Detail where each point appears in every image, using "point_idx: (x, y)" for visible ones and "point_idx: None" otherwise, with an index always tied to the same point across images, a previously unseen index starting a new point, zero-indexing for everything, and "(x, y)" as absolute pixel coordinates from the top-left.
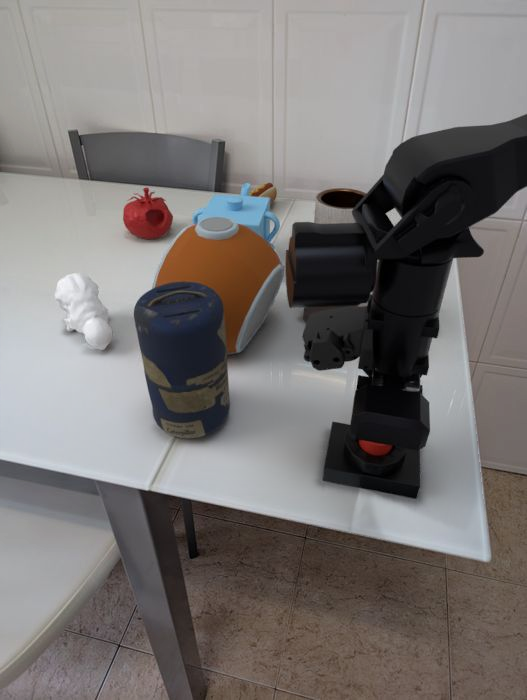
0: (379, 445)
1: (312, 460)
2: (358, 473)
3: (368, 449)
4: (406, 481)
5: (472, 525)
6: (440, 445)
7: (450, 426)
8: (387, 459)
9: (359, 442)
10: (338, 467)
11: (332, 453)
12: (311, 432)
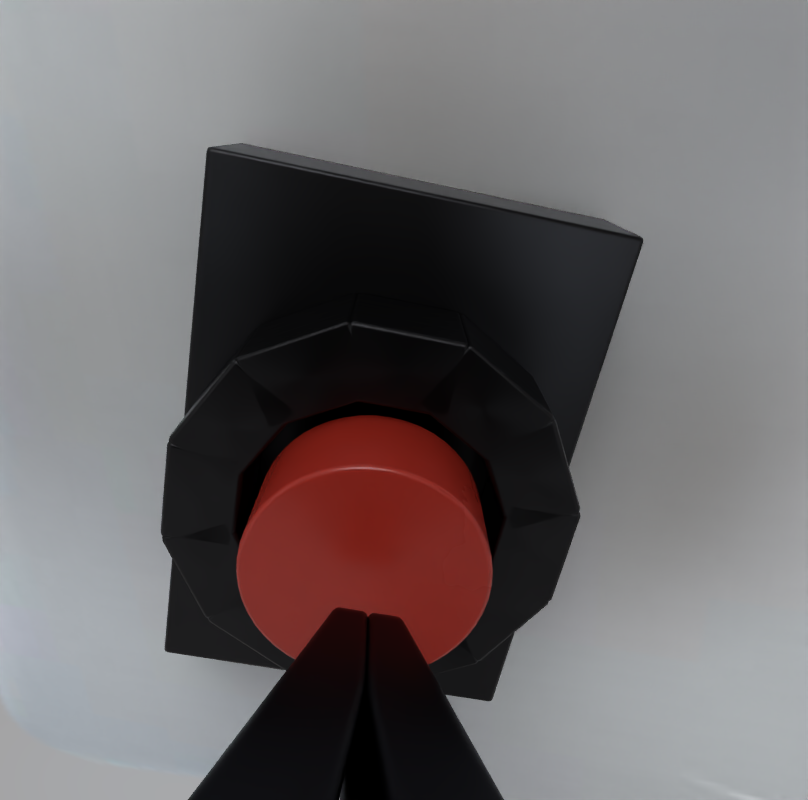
0: (238, 573)
1: (391, 83)
2: (196, 370)
3: (268, 478)
4: (183, 601)
5: (110, 741)
6: (505, 720)
7: (615, 774)
8: (217, 571)
9: (351, 421)
10: (224, 249)
11: (341, 217)
12: (632, 85)
